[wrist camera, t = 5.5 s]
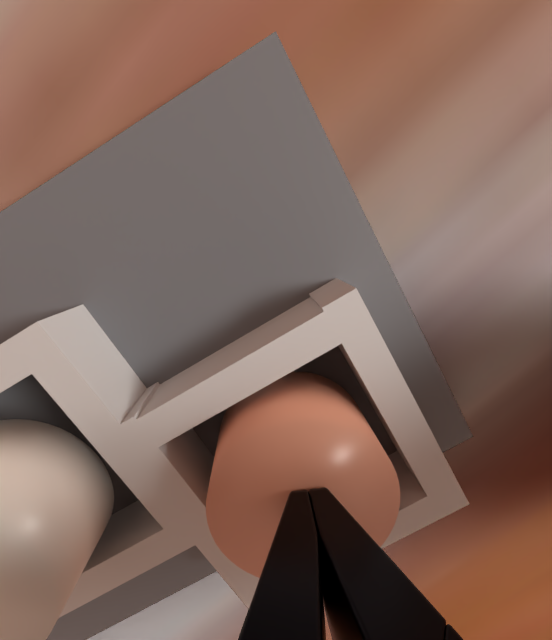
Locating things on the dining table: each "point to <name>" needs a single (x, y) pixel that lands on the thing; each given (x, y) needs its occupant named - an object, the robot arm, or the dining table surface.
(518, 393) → the dining table surface
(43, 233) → the button panel
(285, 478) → the terracotta button
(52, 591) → the white button
